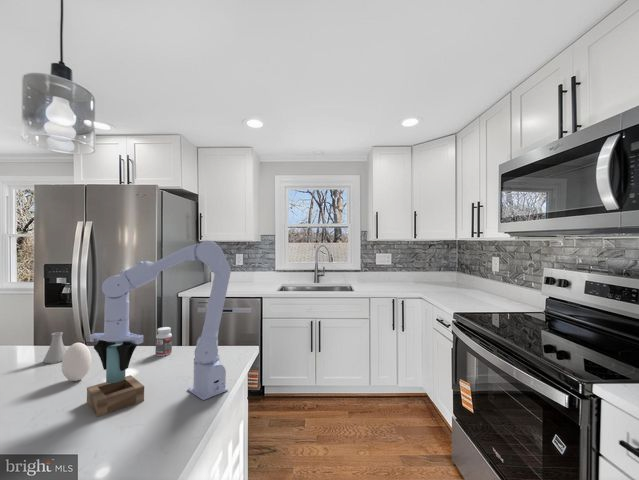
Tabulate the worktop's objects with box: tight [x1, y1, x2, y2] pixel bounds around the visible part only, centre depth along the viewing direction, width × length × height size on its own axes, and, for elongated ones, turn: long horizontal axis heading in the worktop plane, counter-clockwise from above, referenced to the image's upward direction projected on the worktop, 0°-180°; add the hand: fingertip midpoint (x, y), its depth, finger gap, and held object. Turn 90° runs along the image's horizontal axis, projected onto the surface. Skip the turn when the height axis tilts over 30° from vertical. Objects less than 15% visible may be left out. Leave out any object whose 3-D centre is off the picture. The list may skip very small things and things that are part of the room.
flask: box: [42, 331, 67, 364], centre depth 113 cm, size 7×7×10 cm
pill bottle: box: [155, 326, 173, 357], centre depth 120 cm, size 6×6×10 cm
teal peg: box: [105, 343, 127, 383], centre depth 84 cm, size 4×4×9 cm
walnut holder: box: [86, 374, 145, 418], centre depth 84 cm, size 11×11×4 cm
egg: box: [61, 342, 92, 382], centre depth 97 cm, size 7×7×12 cm
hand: (116, 368), depth 84 cm, fingers closed on teal peg, 4 cm apart
